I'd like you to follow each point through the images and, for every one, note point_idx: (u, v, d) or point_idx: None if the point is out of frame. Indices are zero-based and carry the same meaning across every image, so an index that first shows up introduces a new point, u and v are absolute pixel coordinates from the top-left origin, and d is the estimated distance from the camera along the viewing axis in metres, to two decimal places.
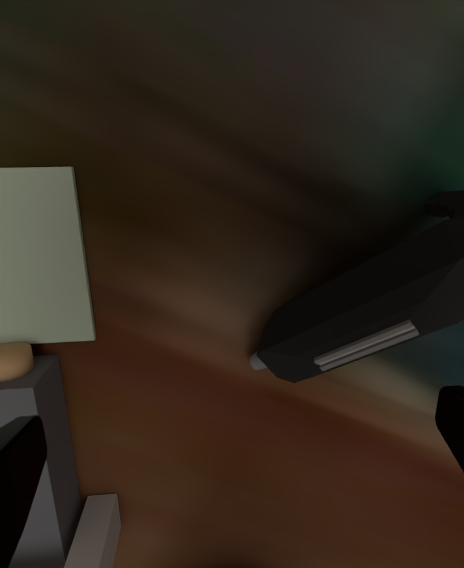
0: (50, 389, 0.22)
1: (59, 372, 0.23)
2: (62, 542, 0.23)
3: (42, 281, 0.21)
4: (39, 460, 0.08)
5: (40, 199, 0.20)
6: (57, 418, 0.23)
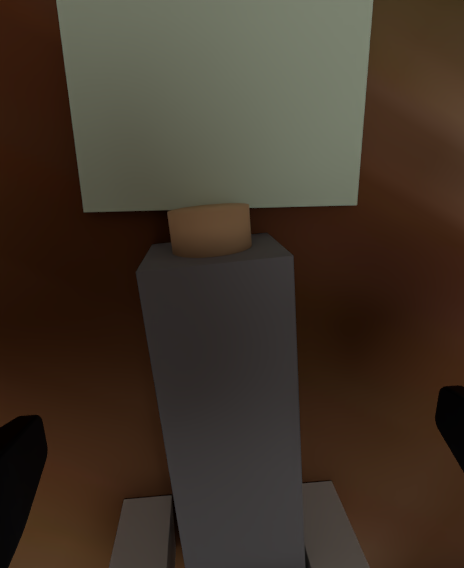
0: None
1: None
2: (304, 561, 0.13)
3: (290, 78, 0.11)
4: (39, 460, 0.08)
5: None
6: None
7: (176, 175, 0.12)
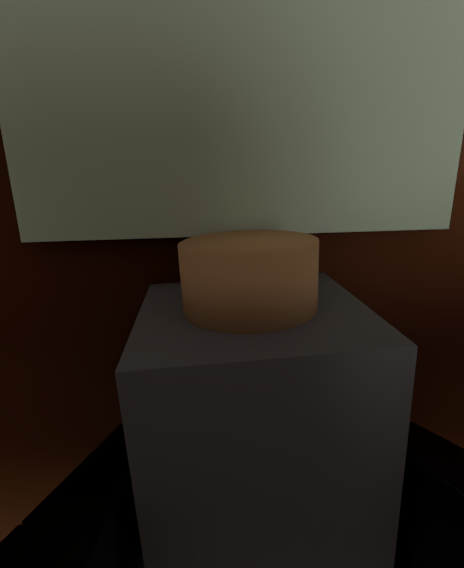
0: None
1: None
2: None
3: (356, 25, 0.07)
4: None
5: None
6: None
7: (169, 183, 0.07)
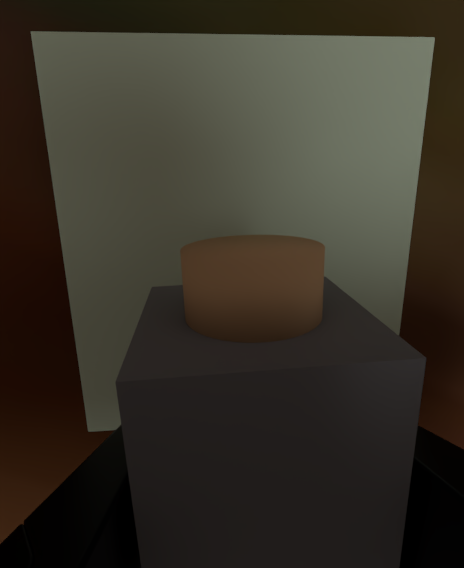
0: None
1: None
2: None
3: None
4: None
5: (352, 114, 0.09)
6: None
7: None
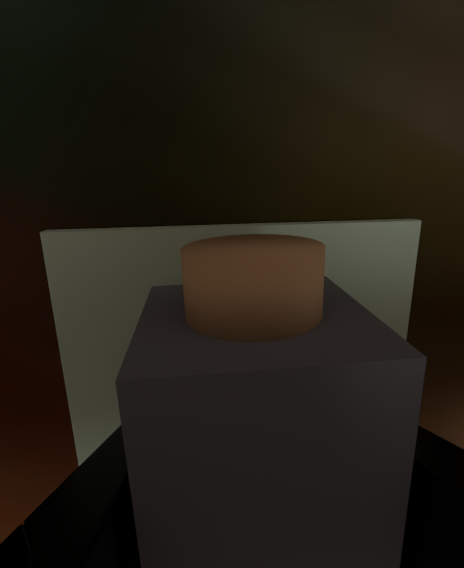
0: None
1: None
2: None
3: None
4: None
5: (344, 287, 0.10)
6: None
7: None
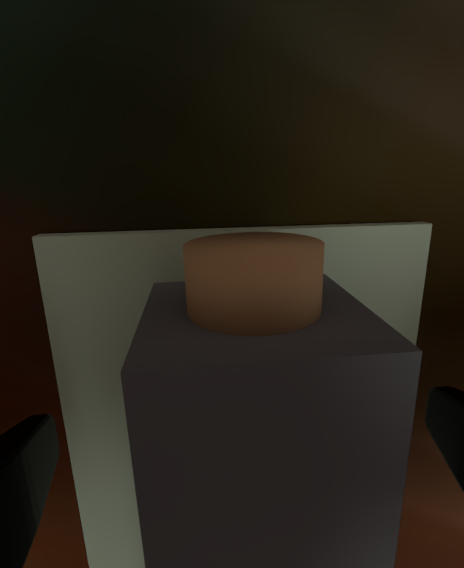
0: None
1: None
2: None
3: None
4: (52, 459, 0.08)
5: (351, 294, 0.09)
6: None
7: None
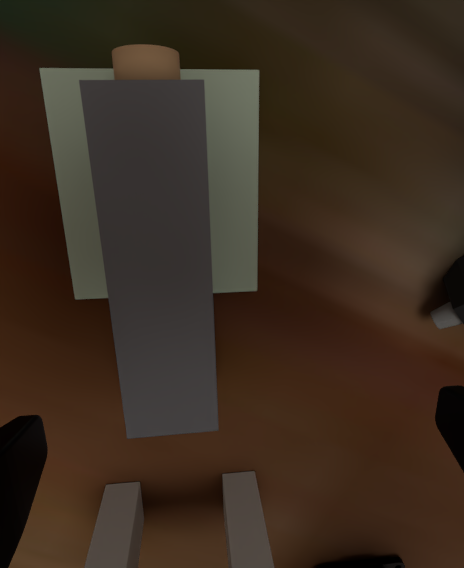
0: None
1: None
2: (215, 365, 0.16)
3: None
4: (39, 460, 0.08)
5: (217, 112, 0.16)
6: None
7: None
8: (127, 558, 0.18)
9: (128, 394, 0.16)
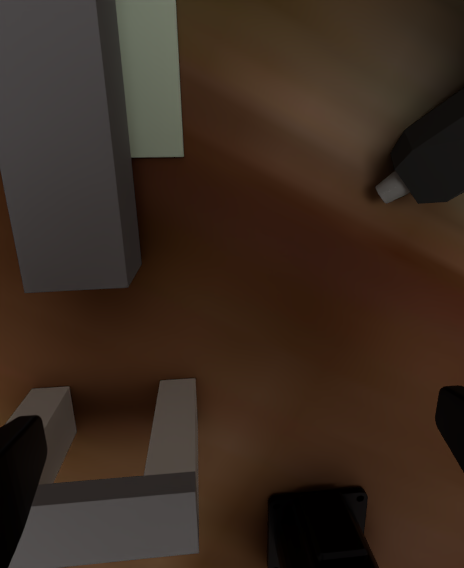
0: None
1: None
2: (118, 203, 0.14)
3: (123, 64, 0.16)
4: (39, 460, 0.08)
5: None
6: (108, 7, 0.14)
7: None
8: None
9: (21, 236, 0.14)
